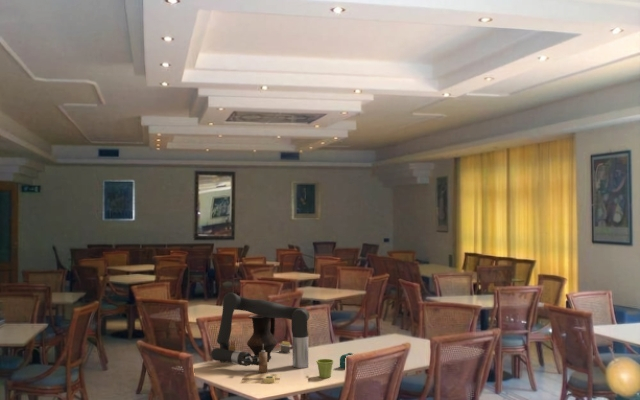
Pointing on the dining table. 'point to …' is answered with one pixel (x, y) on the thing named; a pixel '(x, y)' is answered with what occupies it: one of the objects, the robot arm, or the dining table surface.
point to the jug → (262, 334)
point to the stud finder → (269, 379)
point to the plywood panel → (258, 378)
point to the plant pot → (325, 367)
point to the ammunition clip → (231, 347)
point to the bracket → (343, 360)
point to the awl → (262, 361)
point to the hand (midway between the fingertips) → (263, 361)
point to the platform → (285, 346)
